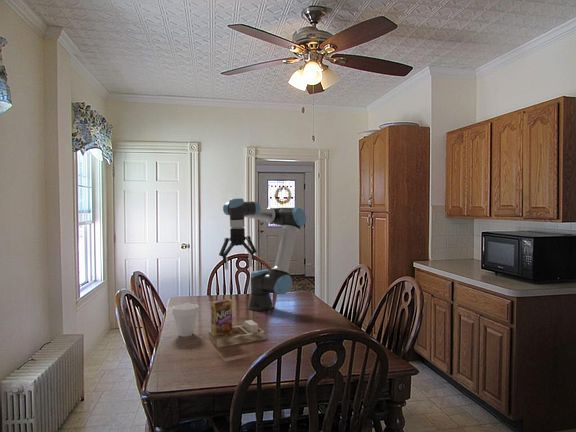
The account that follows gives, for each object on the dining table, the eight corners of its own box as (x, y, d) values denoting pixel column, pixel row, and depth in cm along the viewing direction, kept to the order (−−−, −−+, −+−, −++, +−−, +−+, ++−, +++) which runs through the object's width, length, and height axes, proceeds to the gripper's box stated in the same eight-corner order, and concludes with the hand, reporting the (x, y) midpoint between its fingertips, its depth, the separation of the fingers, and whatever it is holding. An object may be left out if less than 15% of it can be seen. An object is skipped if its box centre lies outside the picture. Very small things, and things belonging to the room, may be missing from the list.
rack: (253, 331, 193) (252, 323, 193) (266, 341, 179) (266, 332, 179) (207, 339, 183) (207, 330, 182) (218, 350, 168) (218, 340, 168)
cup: (185, 340, 181) (184, 311, 181) (167, 335, 188) (167, 307, 187) (204, 332, 192) (203, 305, 191) (186, 328, 198) (186, 302, 198)
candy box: (214, 336, 173) (214, 302, 173) (210, 334, 177) (210, 300, 176) (232, 333, 178) (232, 300, 178) (228, 330, 182) (228, 298, 181)
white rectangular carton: (251, 332, 189) (251, 319, 188) (257, 336, 181) (257, 324, 181) (244, 333, 187) (244, 320, 187) (250, 338, 180) (250, 325, 180)
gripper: (256, 225, 213) (257, 264, 214) (212, 228, 201) (213, 269, 202) (261, 226, 206) (263, 266, 207) (216, 229, 194) (218, 271, 195)
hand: (238, 267), depth 205 cm, fingers open, 13 cm apart
